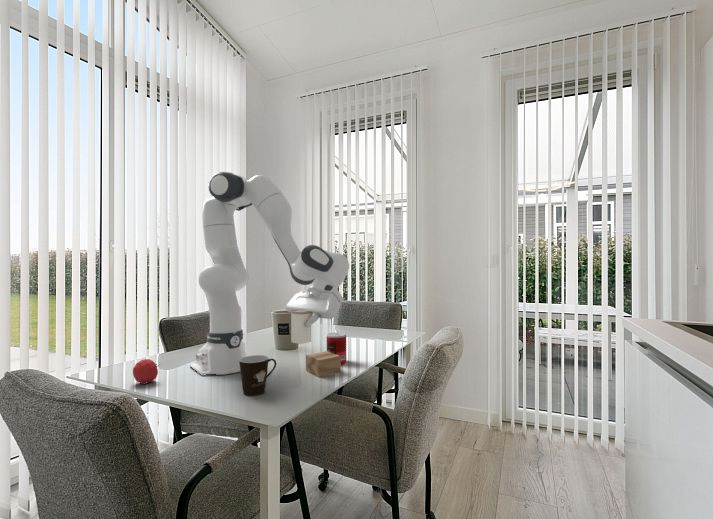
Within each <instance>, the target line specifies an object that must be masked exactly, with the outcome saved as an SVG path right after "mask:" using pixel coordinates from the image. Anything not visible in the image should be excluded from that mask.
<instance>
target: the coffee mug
mask: <svg viewBox="0 0 713 519" xmlns="http://www.w3.org/2000/svg"><path fill="white" fill-rule="evenodd" d="M271 361H273V363H274V365H273V367H272V369H271V371H269V373H268V370H269V369H268V367H269V363H270V362H271ZM239 364H240V371H239V373H240V377H241V378H240V379H241V386H242V387H241V388H242V393H243V395H244V396H245V397H257V396H260V395H263V394H264V393H265V392H266V386H267V379H268V378H269V377H270V375H271V374H273V373H274V370H275V369H276V367H277V360H276V359H275V358H269V356H267V355H263V354H262V355H259V354H256V355H255V354H254V355H246V357H243V358H241V359H239Z"/></svg>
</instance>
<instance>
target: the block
mask: <svg viewBox="0 0 713 519" xmlns="http://www.w3.org/2000/svg"><path fill="white" fill-rule="evenodd" d="M306 371H307V372H306ZM305 372H306V373H308V372H309V373H308V374H311V375H313V376H315V377H317V378H322V377H326V375H327V376H330V374H331V375H335V374H334V373H336V374H340V373H341V365H340V356H339V355H336V354H333V353H331V352H328V351H327V350H326V351H320V352H315V353H310V354H305ZM321 376H322V377H321Z"/></svg>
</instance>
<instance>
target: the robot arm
mask: <svg viewBox="0 0 713 519" xmlns="http://www.w3.org/2000/svg"><path fill="white" fill-rule="evenodd" d="M207 187H208V192H209V194H210V195H211V196H212V197H209V198H206V200H205V201H204V202H203V204H202V214H201V215H202V218H201V219H202V227H203V228H202V229H203V237H204V244H205V245H204V246H205V250H206V251H207V253H208V254H209V256H210V258H211V260H212V264H211V265H209V266H206V267H205V268H203V269H202V270H201V271H200V273H199V276H198V284H199V287H200V289H202V290H203V293H204V295H205V298H206V301H207V305H208V311H209V332H208V333H207V334H206V341H207V342H205V344H203V346H202V347H200V348H199V349H198V350H197V352H196V356H195V359H196V362H193V363H190V364H189V367H190V366H191V367H192V368H194V369H195V370H196V371H198V372H199V373H201V374H203V375H202V376H205V375H204V374H216V375H221V376H222V375H229V374H234V373H235V374H236V373H240V364H239V359H241V358H243V357H247V354H246V353H247V352H246V344H245V342H243V340H244V330H243V328H242V326H243V324H242V323H243V322H242V317H243V316H242V315H243V314H242V308H241V306H240V304H239V301H238V297H237V292H238V291H240V290H242V289H243V288H245V286H246V285H247V284H248V282H249V278H250V276H249V272H248V270H247V268H246V267H245V266H244V262H243V259H242V255H241V253H240V250H239V246H238V241H237V240H238V239H237V234H236V226H235V219H234V217H235V216H234V215H235V214H234V213H235V212H236V211H239V212H240V211H241V210H244V209H246V208H248V207H250V206H253V207H254V208H255V210H256V211H257V213H258V214H259V216H260V217H261V219H262V220H263V222H264V223H265V226H267V228H268V231H269V232H270V234H271V236H272V238H273V240H274V243H275V244H276V245H277V247H278V250H279V251H280V252H281V254H282V256H283V258H284V259H285V261H286V263H287V265H288V267H289V268H288V269H289V273H290V276H291V278H292V279H293V282H295V283H297V284H298V285H302V286H307V285H308V286H309V287H308V288H307V291H306V290H305V291H304V290H303V291H300V292H297V293H296V294H294V296H293V297H292V298H291V299H290V300H289V301H288V302H287V304H286V305H285V310H286V311H287V312H288V313H289V314H290V315H291V311H294V310H308V311H310V312H312V313H311V318H310V319H309V320H306V321H305V323H304V326H305V327H308V328H310V327H311V328H312V325H313V324H314V323H316V322H317V321H318V320H319V319H326V320H332V319H334V318H335V317H336V316H337V313H338V312H339V310H340V308H341V304H343V302H344V300H345V299H344V297H343V296H342V294H341V292H340V291H339V290H338V289H339V287H340V286H341V285H342V284H343V282H344V281H345V279H346V277H347V275H348V273H349V269H350V262H349V260H348V259H347V257H346V256H345V255H344V254H342V253H340V252H331V251H328V250H324V249H323V248H322V247H320V246H318V245H314V244H309V245H306V246H305V247H304V248H303V249H302V251H301V249H299V246H298V245H297V243H296V242H295V240H294V238H293V234H292V226H291V225H292V215H293V210H292V206H291V204H290V202H289V201H288V198H286V196H285V195H284V194H283V192H282V191H281V190H280V188H279V187H278V186H277V185H276V183H274V181H272V180H271V179H270V178H269V177H268V176H267V175H264V174H258V175H257V174H256V175H253V177H251V178H250V179H247V178H246V177H244V176H242V175H238V174H235V173H233V172H229V171H218V172H215V173H214V174H212V176H211V177H210V179H209V180H208V186H207ZM192 368H191V369H192ZM195 370H194V371H195ZM196 371H195V372H196ZM198 372H197V373H198ZM199 373H198V374H199Z"/></svg>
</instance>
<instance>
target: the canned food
mask: <svg viewBox="0 0 713 519" xmlns="http://www.w3.org/2000/svg"><path fill="white" fill-rule="evenodd" d="M326 351H328V352H331V353H333V354H336V355H339V356H340V364H341V365H344V364H346V362H347V334H346V333H345V332H340V331H339V332H330V333H327V334H326Z"/></svg>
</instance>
